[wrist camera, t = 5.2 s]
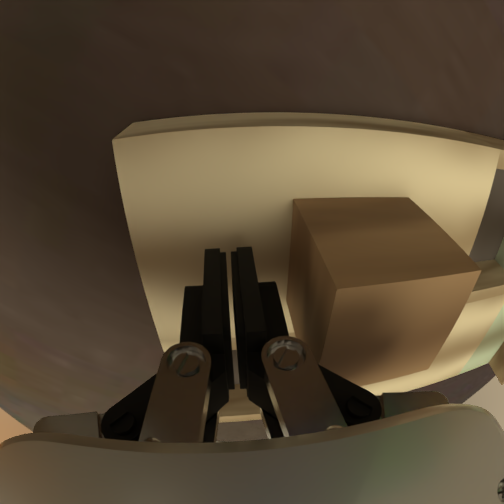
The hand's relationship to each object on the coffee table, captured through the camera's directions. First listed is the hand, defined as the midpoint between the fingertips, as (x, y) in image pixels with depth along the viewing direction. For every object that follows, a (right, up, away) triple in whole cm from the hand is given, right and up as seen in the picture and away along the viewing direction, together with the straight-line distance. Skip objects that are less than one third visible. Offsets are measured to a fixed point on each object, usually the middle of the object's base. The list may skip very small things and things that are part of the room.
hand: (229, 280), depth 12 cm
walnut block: (+5, +1, +1) cm, 5 cm away
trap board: (+10, -1, +7) cm, 13 cm away
